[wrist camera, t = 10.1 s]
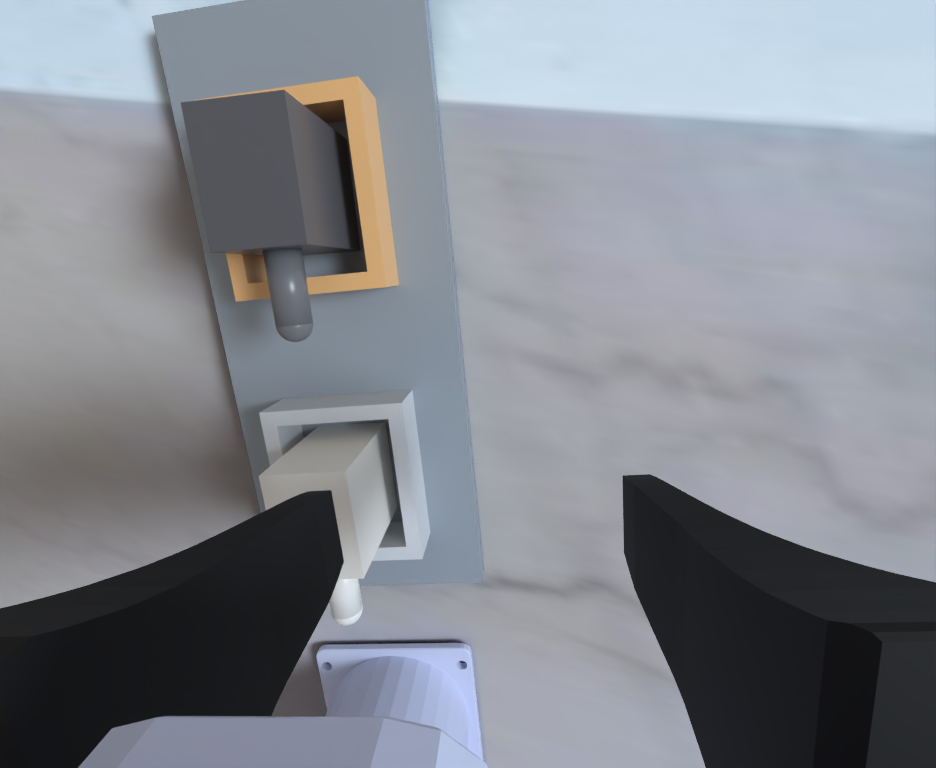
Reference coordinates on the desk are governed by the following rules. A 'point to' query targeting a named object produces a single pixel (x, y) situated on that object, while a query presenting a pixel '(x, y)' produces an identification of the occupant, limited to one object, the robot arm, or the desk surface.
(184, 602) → the robot arm
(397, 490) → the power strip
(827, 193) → the desk surface
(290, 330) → the dark gray plug
